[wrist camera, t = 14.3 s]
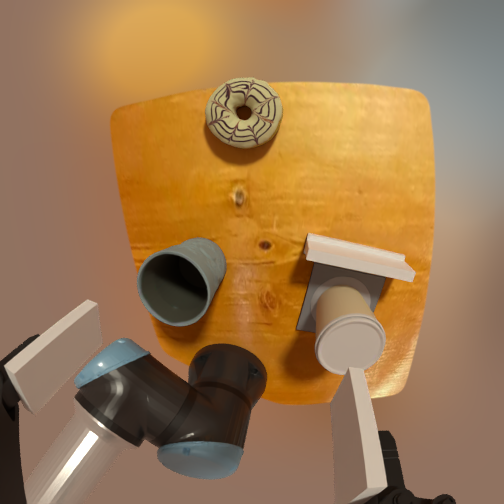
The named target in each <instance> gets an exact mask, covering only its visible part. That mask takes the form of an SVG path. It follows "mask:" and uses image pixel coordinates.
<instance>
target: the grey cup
mask: <svg viewBox="0 0 504 504" xmlns="http://www.w3.org/2000/svg"><path fill="white" fill-rule="evenodd" d="M225 273H226V259H225V256H224V254H223V252H222V250H221V249H220V247H219V246H218V245H217V244H216V243H214V242H212V241H210V240H208V239H205V238H193V239H189V240H187V241H184V242H183V243H182V244H180V245H175V246H172V247H169V248H167V249H164V250H162V251H159V252H156V253H154V254H152V255H151V256H149V257H148V258H147V259H146V260H145V261H144V263H143V264H142V265H141V267H140V269H139V272H138V277H137V287H138V293H139V296H140V298H141V301H142V303H143V304H144V306H145V307H146V309H147V310H148V311H149V312H150V313H151V314H152V315H153V316H154V317H155V318H157V319H158V320H160V321H161V322H163V323H166V324H169V325H172V326H187V325H190V324H193V323H195V322H197V321H198V320H199V319H200V318H201V317H202V316H203V315H204V314H205V312H206V311H207V309H208V307H209V305H210V303H211V301H212V299H213V296H214V294H215V292H216V290H217V289H218V286H219V284H220V282H221V281H222V280H223V278H224V275H225Z"/></svg>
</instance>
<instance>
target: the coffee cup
mask: <svg viewBox="0 0 504 504" xmlns="http://www.w3.org/2000/svg"><path fill="white" fill-rule="evenodd" d="M385 341H386V337H385V332H384V329H383V327H382V326H381V324H380V323H379V322H378V321H377V319H376V317H375V316H374V314H373V312H372V311H371V309H370V308H369V306H368V305H367V303H366V301H365V300H364V298H363V297H362V295H361V294H360V293H359V291H358V290H357V289H355V288H354V287H352V286H350V285H345V284H339V285H335V286H332V287H330V288H328V289H327V290H325V291H324V292H323V293H322V294H321V296H320V297H319V299H318V302H317V308H316V342H315V354H316V357H317V360H318V361H319V363H320V364H321V365H322V366H323V367H324V368H325V369H326V370H328V371H330V372H332V373H335V374H339V375H345V374H346V372H347V370H348V368H349V367H354V368H362V369H363V370H366V369H368V368H369V367H371V366H372V365H373V364H374V363H375V362H376V361H377V360H378V359H379V358H380V356H381V354H382V352H383V350H384V346H385Z"/></svg>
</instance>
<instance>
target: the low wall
mask: <svg viewBox="0 0 504 504" xmlns="http://www.w3.org/2000/svg"><path fill="white" fill-rule="evenodd" d="M304 254H306V260H309V261H314V262H319V263H324V264H329V265H333V266H338V267H343V268H348V269H352V270H357V271H362V272H367V273H371V274H376V275H381V276H385V277H390V278H395V279H400V280H404V281H409V282H413V279H414V276H415V273H416V272H415V271H414V270H413V269H412V268H411V267H410V266H409V265H408V264H407V263H406V262H405V261H404V260H405V256H404V255H403V254H399V253H395V252H391V251H387V250H383V249H378V248H374V247H370V246H365V245H361V244H357V243H352V242H348V241H344V240H339V239H335V238H330V237H326V236H321V235H316V234H312V233H308V235H307V239H306V244H305V248H304Z"/></svg>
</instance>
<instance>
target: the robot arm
mask: <svg viewBox="0 0 504 504" xmlns="http://www.w3.org/2000/svg"><path fill="white" fill-rule="evenodd" d="M102 344H103V341H102V334H101V327H100V319H99V310H98V304H97V303H95V302H92V301H90V300H86V301H85V302H83V303H82V304H81V305H79V306H78V307H77V308H75V309H74V310H73V311H71V312H70V313H69V314H68V315H66V316H65V317H64V318H62V319H61V320H60V321H58V322H57V323H56V324H54V325H53V326H52V327H51V328H49V329H48V330H47V331H46V332H44V333H43V334H42V335H39V334H37V335H35V336H32V337H30V338H28V339H27V340H26V341H24V342H23V344H21V345H19V346H18V348H16V349H14V350H13V351H12V352H11V353H10V354H8V355H7V356H6V357H5V358H4V359H3V360H1V361H0V504H84V503H85V502H86V500H87V499H88V497H89V496H90V495H91V494H92V492H93V491H94V490H95V488H96V487H97V486H98V484H99V483H100V481H101V480H102V479H103V477H104V476H105V475H106V473H107V472H108V471H109V469H110V468H111V466H112V465H113V464H114V462H115V461H116V460H117V458H118V457H119V456H120V454H121V453H122V451H123V450H126V449H137V448H139V446H140V445H141V443H142V442H143V441H144V440H145V439H146V440H147V441H149V442H150V443H152V444H153V445H155V446H157V447H158V448H159V449H158V451H157V457H158V459H159V461H160V462H161V463H162V464H163V465H164V466H165V467H167V468H168V469H170V470H172V471H174V472H176V473H179V474H182V475H185V476H189V477H194V478H199V479H221V478H225V477H228V476H230V475H232V474H233V473H234V472H235V471H236V470H237V468H238V466H239V463H240V460H241V457H242V455H243V452H244V451H243V448H244V443H245V439H246V434H247V429H248V424H249V419H250V414H251V410H252V408H253V407H254V406H255V404H256V403H257V402H258V400H259V399H260V397H261V396H262V394H263V393H264V391H265V387H266V382H267V372H266V369H265V367H264V365H263V364H262V362H261V361H260V360H259V359H258V358H257V357H256V356H255V355H254V354H252V353H251V352H249V351H248V350H246V349H243V348H241V347H238V346H235V345H230V344H213V345H209V346H206V347H204V348H202V349H200V350H199V351H198V352H197V353H196V354H195V356H194V358H193V359H192V361H191V363H190V366H189V379H188V383H187V382H186V381H184V380H183V379H181V378H180V377H178V376H177V375H176V374H175V373H173V372H172V371H171V370H169V369H168V368H167V367H165V366H164V365H163V364H162V363H160V362H159V361H158V360H156V359H155V358H154V357H153V356H152V355H150V354H151V353H150V352H149V351H145V350H144V349H143V348H141V347H140V346H139V345H137V344H136V343H135V342H134V341H132V340H131V339H128V338H121V339H118V340H116V341H114V342H113V343H112V344H110V345H109V346H108V347H106V348H105V349H104V350H102V351H101V352H100V353H99V354H98V355H97V356H96V357H94V358H93V359H92V360H91V361H90V362H89V363H88V364H87V365H86V366H85V367H84V368H83V369H82V371H81V372H80V373H79V374H78V375H77V376H76V378H75V380H74V383H75V384H76V387H77V388H78V389H79V388H80V390H79V391H78V393H77V394H76V395H75V397H74V398H73V400H74V406H75V414H74V416H73V417H72V418H71V420H70V421H69V422H68V424H67V425H66V426H65V428H64V429H63V430H62V432H61V433H60V434H59V436H58V437H57V438H56V440H55V441H54V443H53V444H52V445H51V447H50V448H49V450H48V451H47V452H46V454H45V455H44V456H43V458H42V459H41V461H40V462H39V463H38V465H37V466H36V468H35V469H34V471H33V472H32V473H31V475H30V476H29V478H28V479H27V481H26V482H25V484H24V483H23V476H22V469H21V458H20V444H19V405H18V402H19V401H20V400H21V401H22V404H23V406H24V407H25V408H26V409H27V410H28V411H30V412H31V413H32V414H33V415H36V414H37V413H38V412H39V411H40V410H41V409H42V407H43V406H44V405H45V404H46V403H47V402H48V401H49V400H50V398H51V397H52V396H53V395H54V394H55V393H56V392H57V391H58V390H59V389H60V388H61V387H62V386H63V384H64V383H65V382H66V381H67V380H68V379H69V378H70V377H71V376H72V375H73V374H74V373H75V372H76V371H77V370H78V369H79V368H80V366H81V365H82V364H83V363H84V362H85V361H86V360H87V359H88V358H89V357H90V356H91V355H92V354H93V353H94V352H95V351H96V350H97V349H98V348H99V347H100V346H101V345H102ZM330 408H331V422H332V437H333V457H334V488H335V504H456V502H455V499H453V497H452V496H450V495H447V494H442V495H440V496H437V497H436V498H435V499H433V500H432V499H423V498H417V497H415V496H414V495H413V494H412V492H411V491H409V490H407V489H406V488H405V485H404V480H403V475H402V470H401V465H400V460H399V459H398V457H399V456H398V451H397V447H396V443H395V439H394V438H393V436H392V435H391V433H390V432H389V431H378V430H377V426H376V421H375V416H374V412H373V407H372V403H371V399H370V394H369V390H368V386H367V382H366V378H365V374H364V370H363V369H362V368H354V367H349V368H348V370H347V372H346V374H345V376H344V378H343V380H342V382H341V384H340V386H339V388H338V390H337V392H336V394H335V396H334V397H333V399H332V401H331V403H330Z"/></svg>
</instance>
